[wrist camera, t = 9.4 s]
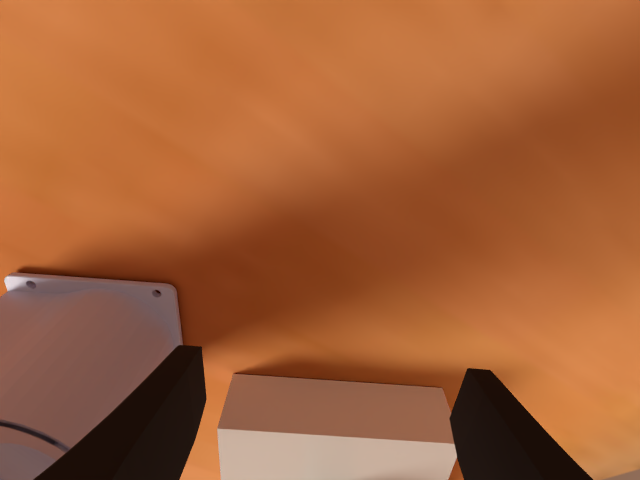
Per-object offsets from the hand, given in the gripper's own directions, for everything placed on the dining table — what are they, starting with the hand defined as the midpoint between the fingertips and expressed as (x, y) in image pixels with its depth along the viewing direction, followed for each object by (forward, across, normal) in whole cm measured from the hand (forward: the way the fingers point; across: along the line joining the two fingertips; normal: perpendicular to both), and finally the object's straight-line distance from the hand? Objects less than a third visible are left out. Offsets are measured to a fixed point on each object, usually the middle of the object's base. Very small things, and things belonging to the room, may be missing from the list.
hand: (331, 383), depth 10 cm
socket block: (+10, -2, +18) cm, 21 cm away
